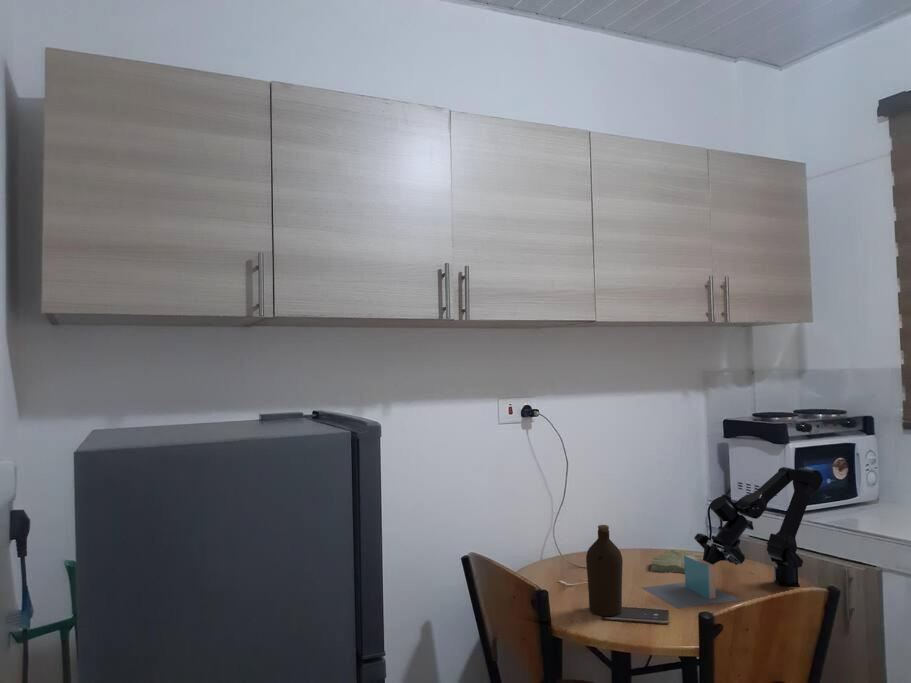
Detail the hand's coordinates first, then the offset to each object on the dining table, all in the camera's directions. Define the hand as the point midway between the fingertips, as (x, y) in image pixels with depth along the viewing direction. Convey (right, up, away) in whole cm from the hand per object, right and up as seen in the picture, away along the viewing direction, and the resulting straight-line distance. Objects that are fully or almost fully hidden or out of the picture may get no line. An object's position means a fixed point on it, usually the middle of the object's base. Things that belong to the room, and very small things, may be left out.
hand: (703, 568), depth 216 cm
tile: (-1, -7, -1) cm, 7 cm away
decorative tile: (+3, -10, +29) cm, 31 cm away
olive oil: (-34, -8, -14) cm, 37 cm away
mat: (-5, -8, -2) cm, 9 cm away
